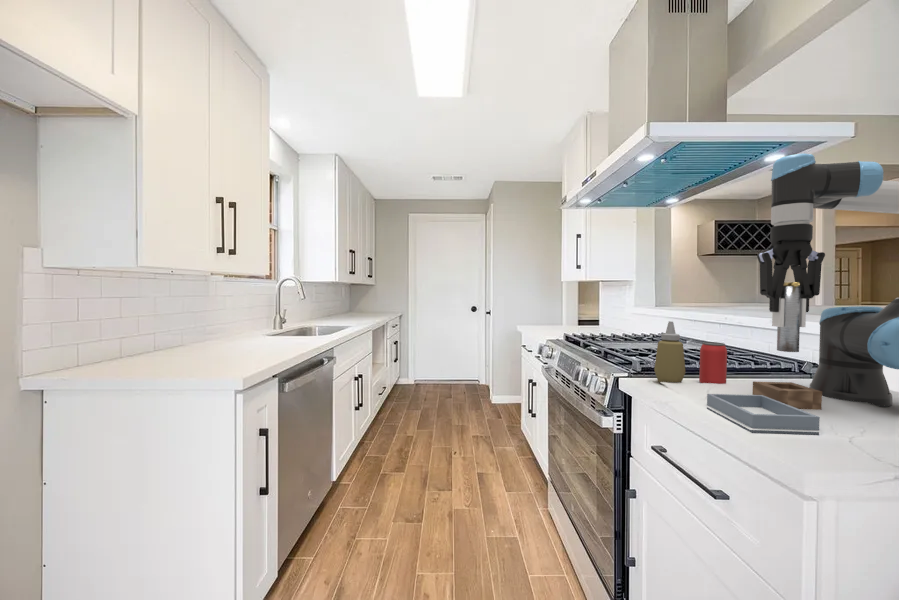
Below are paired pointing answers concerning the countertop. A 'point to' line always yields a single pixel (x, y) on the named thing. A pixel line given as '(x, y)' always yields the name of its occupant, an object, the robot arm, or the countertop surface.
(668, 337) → the squeeze bottle
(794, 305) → the steel pin
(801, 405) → the block
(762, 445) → the countertop surface
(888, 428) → the countertop surface
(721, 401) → the tray
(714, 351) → the beer can
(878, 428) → the countertop surface
